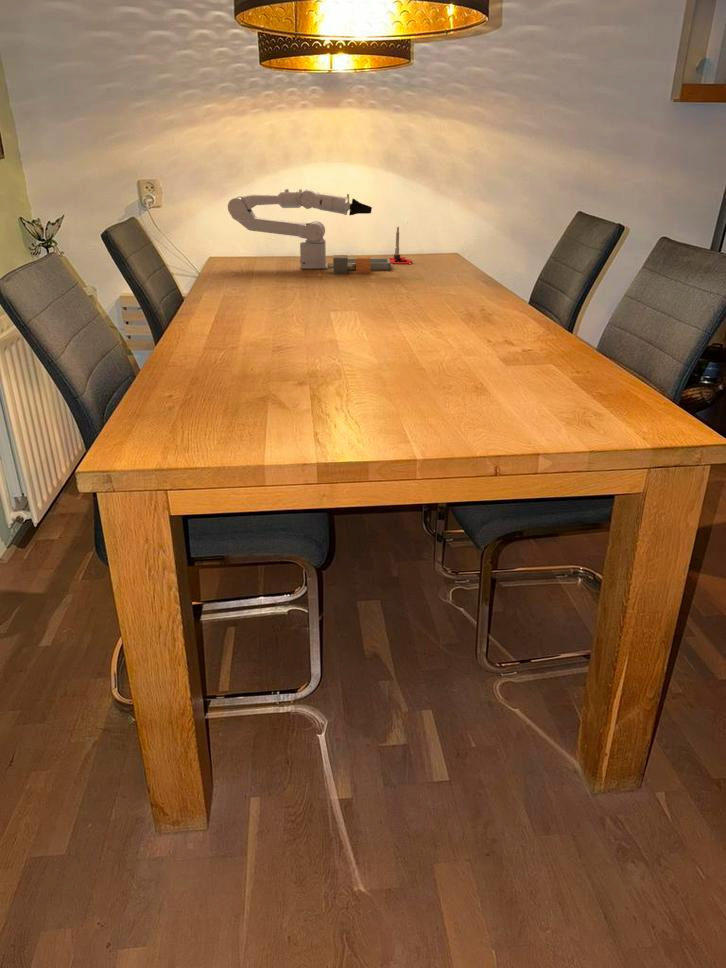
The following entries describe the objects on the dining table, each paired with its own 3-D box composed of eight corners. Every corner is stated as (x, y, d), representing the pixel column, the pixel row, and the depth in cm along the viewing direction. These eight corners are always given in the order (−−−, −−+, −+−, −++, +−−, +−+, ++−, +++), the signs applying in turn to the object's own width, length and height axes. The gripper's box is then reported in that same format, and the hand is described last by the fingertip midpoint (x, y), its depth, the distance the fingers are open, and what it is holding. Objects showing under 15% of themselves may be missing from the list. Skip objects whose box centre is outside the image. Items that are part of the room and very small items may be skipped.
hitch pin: (327, 273, 261) (327, 258, 259) (328, 271, 265) (327, 257, 262) (370, 273, 262) (370, 258, 260) (369, 271, 265) (370, 257, 263)
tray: (335, 270, 267) (334, 263, 266) (335, 265, 277) (335, 258, 275) (390, 270, 267) (390, 263, 266) (388, 265, 277) (388, 258, 276)
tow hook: (415, 265, 280) (406, 260, 288) (417, 229, 274) (407, 225, 282) (395, 266, 278) (385, 261, 285) (396, 230, 272) (386, 226, 279)
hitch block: (333, 273, 260) (333, 258, 257) (333, 270, 266) (333, 255, 264) (347, 273, 260) (347, 258, 258) (347, 270, 266) (347, 255, 264)
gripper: (333, 191, 255) (372, 198, 255) (336, 192, 268) (373, 198, 269) (330, 212, 257) (369, 219, 257) (333, 212, 271) (370, 219, 271)
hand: (371, 210), depth 263 cm, fingers open, 7 cm apart
